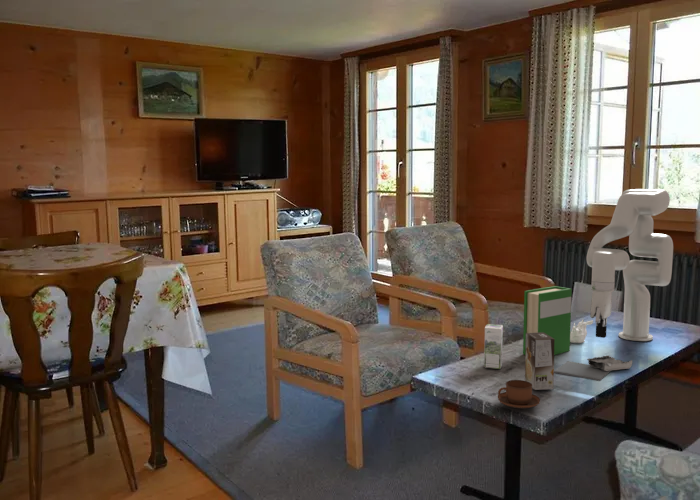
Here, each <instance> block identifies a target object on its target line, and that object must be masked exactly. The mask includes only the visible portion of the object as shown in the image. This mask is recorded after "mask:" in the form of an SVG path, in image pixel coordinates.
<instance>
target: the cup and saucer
mask: <svg viewBox="0 0 700 500" xmlns="http://www.w3.org/2000/svg"><path fill="white" fill-rule="evenodd" d="M503 391H504V392H503ZM497 394H498V395H497V399H498V401H499V402H500V403H501V404H502V405H505V406H507V407H510V408H515V409H530V408H534V407H537V406H538V405H539V404H540V403H541V398H540V397H539V396H538V395H536V394H533V388H532V384H531V383H530V382H527V381H525V380H521V379H512V380H507V381H506V382H505V387H500V388H499V389H498V392H497Z"/></svg>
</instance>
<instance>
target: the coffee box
mask: <svg viewBox="0 0 700 500" xmlns="http://www.w3.org/2000/svg"><path fill="white" fill-rule="evenodd" d="M554 344H555V339H554V338H552V337H550V336H549V335H547V334H546V333H544V332H536V333H526V354H525V355H524V356H525V361H524V363H525V367H524V368H525V370H524V381H527V382H530V383H531V384H532V390H534V391H537V390H539V391H540V390H554V377H555V373H554V371H555V355H554Z"/></svg>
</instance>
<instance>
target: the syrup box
mask: <svg viewBox="0 0 700 500" xmlns="http://www.w3.org/2000/svg"><path fill="white" fill-rule="evenodd" d="M503 335H504V326H503V324H488V323H487V324H486V325H485V327H484V348H483V349H484V353H483V356H484V357H483V358H484V360H483V363H484V364H483V366H484V367H483V368H486V369H494V370H501V368H502V366H503Z"/></svg>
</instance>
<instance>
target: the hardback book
mask: <svg viewBox="0 0 700 500" xmlns="http://www.w3.org/2000/svg"><path fill="white" fill-rule="evenodd" d="M572 291H573V289H572V288H569V287H564V286H563V287H562V286H557V285H553V286H549V287H540V288H533V289H528V290H524V291H523V292H524V295H523V297H524V298H523V299H524V300H523V302H524V303H523V332H522V333H523V337H522V338H523V339H522V355H523V354H524V356H525V354H526V333H536V332H544V333H546V334H547V335H549V336H550V337H552V338H554V339H555V344H554V356H557V355H560V354H564V353H567V352H570V350H571V346H570V345H571V342H570V332H571V322H572V295H573V292H572Z"/></svg>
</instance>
